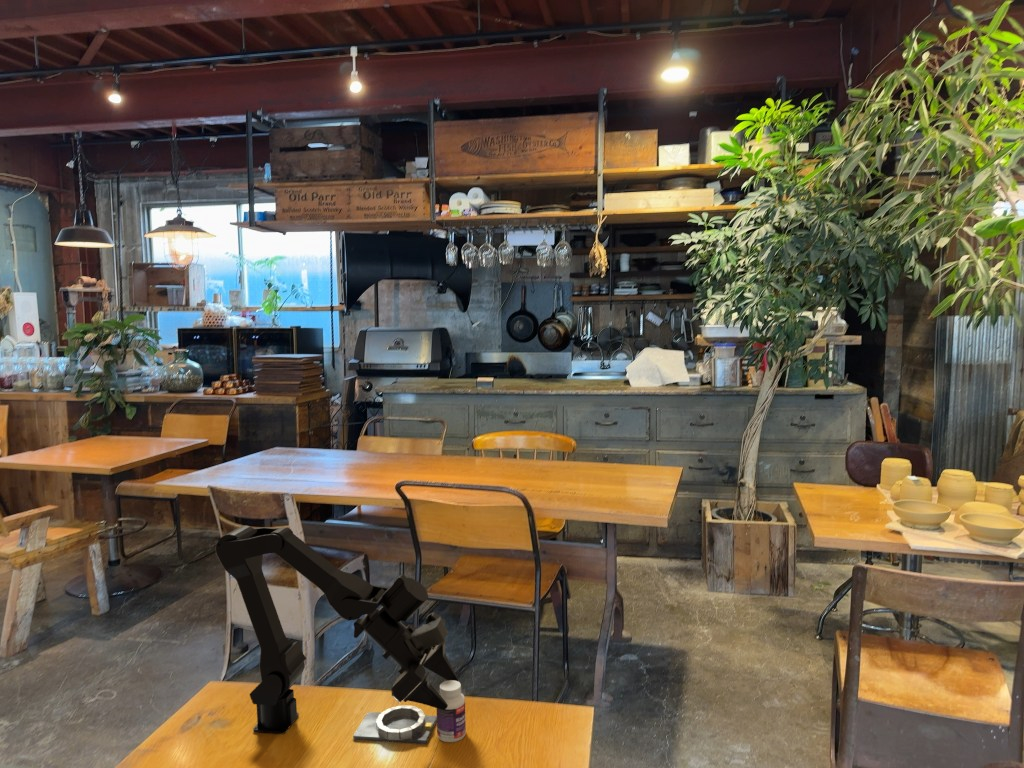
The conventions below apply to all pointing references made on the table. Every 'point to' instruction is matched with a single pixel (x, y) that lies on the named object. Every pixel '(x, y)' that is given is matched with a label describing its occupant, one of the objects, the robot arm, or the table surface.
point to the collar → (406, 732)
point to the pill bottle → (451, 713)
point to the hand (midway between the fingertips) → (451, 694)
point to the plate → (370, 733)
